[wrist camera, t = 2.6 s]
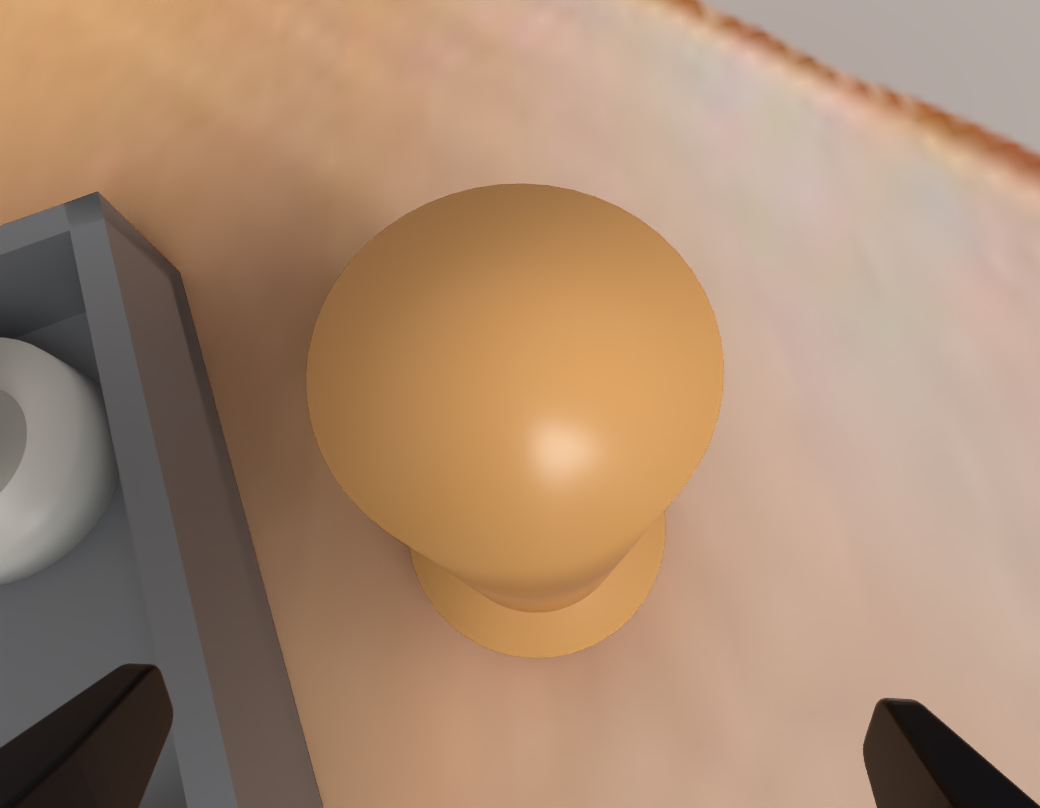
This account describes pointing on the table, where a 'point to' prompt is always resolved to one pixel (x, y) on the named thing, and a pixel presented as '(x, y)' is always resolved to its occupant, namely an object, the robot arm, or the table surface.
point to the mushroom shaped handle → (519, 406)
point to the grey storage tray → (130, 515)
